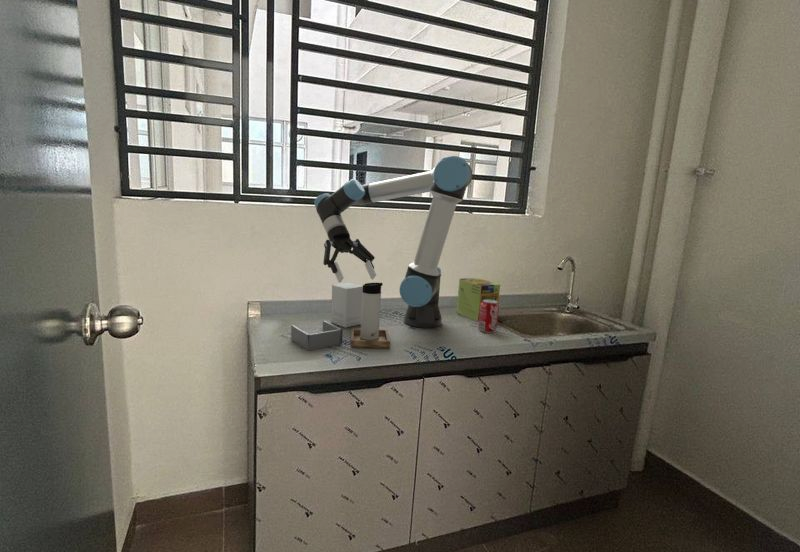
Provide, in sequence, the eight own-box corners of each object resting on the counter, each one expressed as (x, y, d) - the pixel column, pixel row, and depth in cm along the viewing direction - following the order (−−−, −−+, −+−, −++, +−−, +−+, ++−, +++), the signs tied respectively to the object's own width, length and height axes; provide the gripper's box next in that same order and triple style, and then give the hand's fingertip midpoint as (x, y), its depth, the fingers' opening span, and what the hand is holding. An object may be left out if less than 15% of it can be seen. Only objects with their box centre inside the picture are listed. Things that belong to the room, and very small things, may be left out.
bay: (342, 344, 147) (342, 329, 146) (307, 350, 139) (307, 335, 138) (324, 334, 156) (324, 320, 155) (291, 339, 148) (291, 325, 147)
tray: (386, 336, 158) (387, 329, 157) (389, 348, 145) (390, 341, 145) (351, 335, 156) (351, 328, 156) (351, 347, 144) (351, 340, 143)
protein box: (477, 322, 183) (481, 285, 180) (455, 312, 196) (458, 278, 194) (497, 320, 188) (501, 284, 185) (474, 310, 201) (477, 277, 199)
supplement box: (363, 324, 171) (365, 286, 168) (345, 328, 164) (346, 288, 162) (348, 318, 177) (349, 282, 174) (330, 322, 170) (331, 284, 168)
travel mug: (376, 344, 147) (380, 285, 143) (357, 341, 148) (360, 283, 145) (381, 338, 153) (384, 281, 150) (363, 336, 154) (365, 279, 151)
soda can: (498, 330, 173) (501, 300, 171) (494, 335, 167) (497, 304, 165) (480, 327, 176) (483, 297, 174) (475, 331, 170) (478, 301, 168)
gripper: (360, 236, 172) (381, 281, 164) (302, 237, 156) (322, 287, 148) (369, 224, 167) (391, 270, 159) (309, 224, 151) (330, 274, 143)
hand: (358, 278), depth 153 cm, fingers open, 13 cm apart
